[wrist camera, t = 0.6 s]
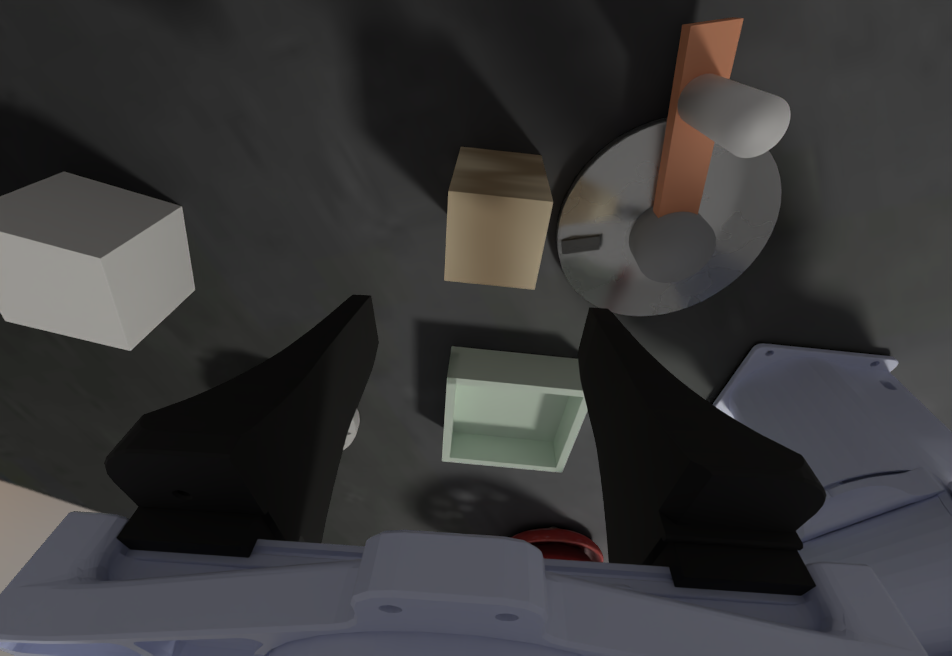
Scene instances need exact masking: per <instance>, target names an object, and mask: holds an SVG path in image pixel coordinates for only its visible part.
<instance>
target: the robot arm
mask: <svg viewBox="0 0 952 656" xmlns="http://www.w3.org/2000/svg"><path fill="white" fill-rule="evenodd" d="M378 343H379V341H378V335H377V329H376V323H375V317H374V311H373V304H372V298H371V296H368V295H352V296H351V297H349V298H348V299H347V300H346V301H345V302H343V303H342V304H341V305H340V306H339V307H338V308H336V309H335V310H334V311H333V312H332V313H331V314H329V315H328V316H327V317H326V318H325V319H323V320H322V321H321V322H320V323H319V324H317V325H316V326H315V327H314V328H312V329H311V330H310V331H308V332H307V333H306V334H304V335H303V336H302V337H300V338H299V339H298V340H296V341H295V342H294V343H292V344H291V345H290V346H288V347H287V348H285V349H284V350H282V351H281V352H279V353H278V354H276V355H275V356H273V357H271V358H270V359H268V360H266V361H265V362H263V363H261V364H260V365H258V366H256V367H254V368H252V369H250V370H249V371H247V372H245V373H243V374H241V375H239V376H237V377H235V378H233V379H231V380H230V381H227V382H225V383H223V384H221V385H219V386H217V387H214V388H212V389H210V390H208V391H205V392H203V393H201V394H198V395H196V396H194V397H191V398H188V399H186V400H183V401H181V402H178V403H175V404H172V405H170V406H167V407H164V408H161V409H159V410H156V411H153V412H150V413H147V414H144V415H143V416H142V417H141V418H140V419H139V420H138V421H137V422H136V423H135V425H134V426H133V427H132V428H131V429H130V430H129V432H128V433H127V434H126V435H125V436H124V437H123V438H122V440H121V441H120V442H119V443H118V444H117V445H116V446H115V448H114V449H113V450H112V451H111V452H110V453H109V455H108V456H107V457H106V460H105V463H104V464H105V467H106V471H107V474H108V475H109V477H110V478H111V479H112V480H113V482H114V483H115V484H116V485H117V486H118V487H119V488H120V489H121V490H123V491H124V492H125V493H126V494H127V495H128V496H129V497H130V498H131V499H132V500H133V501H134V502H135V503H136V504H137V505H138V506H139V507H138V508H137V510H136V511H135V513H134V514H133V515H132V517H131V518H130V519H128V518H126V517H124V516H121V515H116V514H107V513H92V512H78V511H74V512H70V513H69V514H68V515H67V516H66V517H65V518H64V519H63V521H62V522H61V523H60V524H59V526H58V527H57V528H56V529H55V530H54V531H53V532H52V534H51V535H50V536H49V537H48V538H47V540H46V541H45V542H44V543H43V544H42V545H41V547H40V548H39V549H38V550H37V551H36V553H35V554H34V555H33V556H32V558H31V559H30V560H29V561H28V562H27V563H26V564H25V566H24V567H23V568H22V569H21V570H20V572H19V573H18V574H17V575H16V576H15V577H14V579H13V580H12V581H11V582H10V583H9V585H8V586H7V587H6V588H5V589H4V591H2V593H1V594H0V650H2V651H4V652H7V653H10V654H13V655H15V656H952V432H951V431H950V430H949V429H948V428H947V427H946V426H945V425H944V424H943V423H942V422H941V421H940V420H939V419H938V418H937V417H936V416H935V415H934V414H933V413H932V412H931V411H929V410H928V409H927V408H926V407H925V406H924V405H923V404H922V403H921V402H920V401H919V400H918V399H917V398H916V397H915V396H914V395H913V394H912V393H911V392H910V391H909V390H908V389H907V388H906V387H905V386H903V385H902V384H901V383H900V382H899V381H898V380H897V379H896V378H895V377H894V376H893V375H892V374H891V373H890V372H891V371H892V370H893V369H894V368H895V367H896V366H897V365H898V361H897V360H896V359H895V358H894V357H892V356H883V355H873V354H863V353H854V352H844V351H834V350H824V349H814V348H804V347H794V346H785V345H775V344H765V343H761V344H757V345H755V346H754V347H753V348H752V349H751V351H750V352H749V353H748V355H747V356H746V358H745V359H744V360H743V362H742V363H741V365H740V366H739V368H738V369H737V370H736V372H735V373H734V375H733V376H732V377H731V379H730V380H729V382H728V383H727V385H726V386H725V387H724V389H723V390H722V392H721V393H720V394H719V396H718V397H717V399H716V400H715V402H714V403H713V404H711V403H709V402H708V401H706V400H705V399H703V398H702V397H700V396H699V395H698V394H696V393H695V392H694V391H692V390H691V389H690V388H689V387H687V386H686V385H685V384H683V383H682V382H681V381H680V380H678V379H677V378H676V377H675V376H674V375H672V374H671V373H670V372H669V371H668V370H667V369H666V368H665V367H663V366H662V365H661V364H660V363H659V362H658V361H657V360H656V359H655V358H654V357H653V356H652V355H651V354H650V353H649V352H648V351H647V350H646V349H645V348H644V347H643V346H642V345H641V344H640V343H639V342H638V341H637V340H636V339H635V338H634V337H633V336H632V334H631V333H630V332H629V331H628V330H627V329H626V328H625V327H624V326H623V324H622V323H621V322H620V321H619V320H618V319H617V318H616V317H615V315H614V314H613V313H612V312H611V311H610V310H609V309H607V308H589V311H588V315H587V319H586V323H585V327H584V331H583V335H582V338H581V342H580V346H579V350H578V363H579V373H580V381H581V385H582V389H583V393H584V397H585V401H586V405H587V409H588V413H589V417H590V421H591V425H592V429H593V433H594V437H595V442H596V447H597V453H598V461H599V468H600V475H601V484H602V492H603V501H604V511H605V521H606V532H607V544H608V557H609V563H603V562H589V561H574V560H559V559H544V558H543V555H542V552H541V551H540V550H539V549H538V548H537V547H535V546H533V545H532V544H530V543H528V542H526V541H525V540H520V539H515V538H510V537H505V536H491V535H476V534H461V533H446V532H431V531H416V530H391V531H383V532H381V533H379V534H377V535H374V536H372V537H371V538H369V539H367V541H366V544H365V546H353V545H338V544H323V543H321V542H322V537H323V532H324V527H325V522H326V517H327V513H328V509H329V504H330V500H331V495H332V491H333V487H334V483H335V479H336V475H337V471H338V467H339V463H340V459H341V455H342V451H343V448H344V444H345V440H346V437H347V433H348V430H349V427H350V425H351V422H352V419H353V417H354V414H355V412H356V409H357V407H358V404H359V402H360V399H361V397H362V394H363V392H364V389H365V387H366V384H367V381H368V379H369V376H370V374H371V371H372V368H373V365H374V361H375V357H376V352H377V348H378ZM767 351H768V352H767Z"/></svg>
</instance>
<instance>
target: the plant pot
mask: <svg viewBox="0 0 952 656" xmlns="http://www.w3.org/2000/svg"><path fill="white" fill-rule="evenodd" d="M511 538H515V539H520V540H525V541H526V542H528V543H530V544H532V545H533V546H535V547H537V548H538V549H539V550H540V551H541V552H542V555H543V558H544V559H559V560H574V561H589V562H603V555H602V552H601V550H600V549H599V547H598V546H597V545H596V544H595V543H594V542H593V541H592V540H591V539H589V538H588V537H586V536H584V535H582V534H580V533H577V532H574V531H571V530H566V529H558V528H557V527H555V526H554V527H550V528H541V529H533V530H528V531H524V532H521V533H519V534H516V535H514V536H513V537H511Z"/></svg>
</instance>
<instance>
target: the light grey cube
mask: <svg viewBox="0 0 952 656" xmlns="http://www.w3.org/2000/svg"><path fill="white" fill-rule="evenodd" d="M194 290H195V286H194V280H193V273H192V267H191V261H190V254H189V248H188V242H187V235H186V229H185V223H184V216H183V210H182V206H179V205H176V204H173V203H169V202H166V201H162V200H159V199H156V198H152V197H149V196H146V195H142V194H139V193H135V192H132V191H129V190H125V189H122V188H118V187H115V186H112V185H108V184H105V183H101V182H98V181H95V180H91V179H88V178H84V177H81V176H78V175H74V174H71V173H68V172H61V173H59V174H56V175H54V176H51V177H49V178H46V179H44V180H41V181H38V182H36V183H33V184H31V185H28V186H26V187H23V188H21V189H18V190H15V191H13V192H10V193H8V194H5V195H3V196H0V313H1V314H2V316H3V318H4V320H5V321H8V322H12V323H16V324H20V325H24V326H28V327H33V328H37V329H41V330H45V331H49V332H54V333H58V334H62V335H66V336H70V337H74V338H79V339H83V340H87V341H91V342H95V343H100V344H104V345H108V346H112V347H116V348H120V349H125V350H129V351H131V350H132V349H133V348H134V347H135V346H136V345H137V344H138V343H139V342H140V341H141V340H142V339H144V338H145V337H146V336H147V335H148V334H149V333H150V332H151V331H152V330H153V329H154V328H155V327H156V326H157V325H158V324H159V323H160V322H162V321H163V320H164V319H165V318H166V317H167V316H168V315H169V314H170V313H171V312H172V311H173V310H174V309H175V308H176V307H177V306H179V305H180V304H181V303H182V302H183V301H184V300H185V299H186V298H187V297H188V296H189V295H190V294H191V293H192V292H193V291H194Z"/></svg>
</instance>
